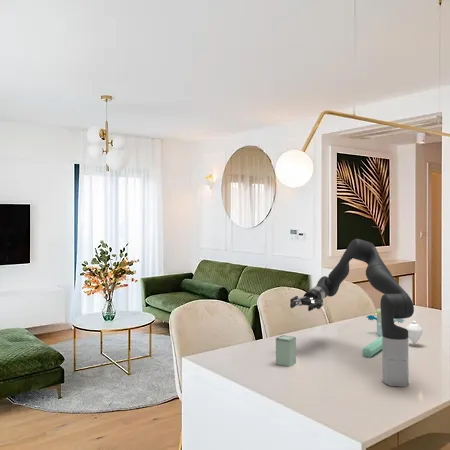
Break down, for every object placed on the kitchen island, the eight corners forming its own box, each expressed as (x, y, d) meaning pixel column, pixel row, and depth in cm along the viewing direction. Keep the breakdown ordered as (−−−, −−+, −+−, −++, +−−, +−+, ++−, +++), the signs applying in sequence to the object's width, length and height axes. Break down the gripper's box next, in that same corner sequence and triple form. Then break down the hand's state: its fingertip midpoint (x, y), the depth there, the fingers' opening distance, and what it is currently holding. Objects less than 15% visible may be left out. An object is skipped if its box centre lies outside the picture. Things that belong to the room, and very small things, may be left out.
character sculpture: (363, 335, 249) (363, 310, 249) (368, 330, 259) (368, 306, 259) (403, 339, 239) (403, 313, 239) (406, 335, 249) (406, 309, 249)
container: (369, 344, 207) (387, 332, 228) (357, 348, 211) (376, 336, 231) (375, 358, 206) (392, 344, 226) (362, 361, 210) (381, 347, 230)
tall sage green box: (296, 362, 202) (295, 337, 202) (289, 366, 196) (289, 340, 196) (282, 360, 205) (282, 335, 205) (275, 364, 200) (275, 338, 200)
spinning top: (408, 342, 233) (408, 318, 233) (425, 345, 228) (424, 320, 228) (403, 346, 227) (403, 321, 227) (420, 348, 222) (419, 323, 222)
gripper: (300, 286, 226) (285, 297, 213) (328, 290, 218) (314, 301, 205) (301, 301, 227) (285, 313, 214) (329, 306, 219) (315, 318, 206)
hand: (300, 307), depth 210 cm, fingers open, 8 cm apart
